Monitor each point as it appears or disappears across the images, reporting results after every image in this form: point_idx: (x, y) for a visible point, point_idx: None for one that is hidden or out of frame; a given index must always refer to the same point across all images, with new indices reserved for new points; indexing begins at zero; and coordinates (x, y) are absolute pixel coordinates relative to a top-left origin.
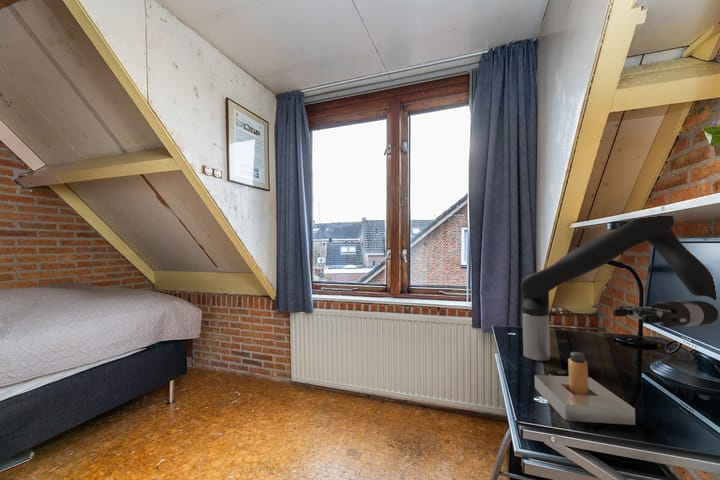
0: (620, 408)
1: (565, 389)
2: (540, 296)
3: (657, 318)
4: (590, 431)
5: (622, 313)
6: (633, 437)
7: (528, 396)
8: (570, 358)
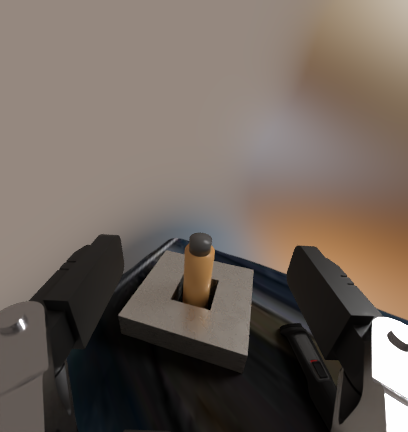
0: (131, 298)
1: None
2: None
3: (41, 296)
4: (141, 271)
5: (313, 308)
6: (108, 302)
7: None
8: (213, 249)
